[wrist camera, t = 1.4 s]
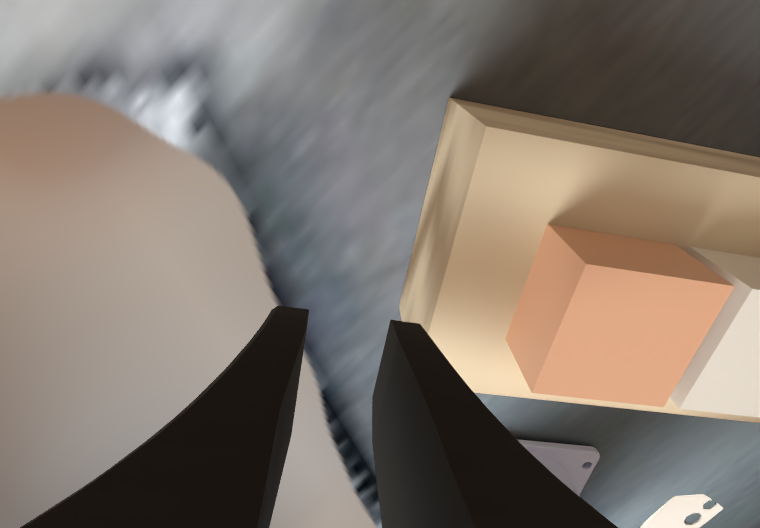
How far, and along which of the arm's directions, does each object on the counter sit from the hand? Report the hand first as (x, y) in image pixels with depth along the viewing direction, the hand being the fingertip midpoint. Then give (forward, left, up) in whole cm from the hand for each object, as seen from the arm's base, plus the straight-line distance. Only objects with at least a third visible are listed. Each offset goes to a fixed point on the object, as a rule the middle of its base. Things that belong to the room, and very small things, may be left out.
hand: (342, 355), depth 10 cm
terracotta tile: (0, -8, -4) cm, 9 cm away
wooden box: (0, -10, -9) cm, 14 cm away
